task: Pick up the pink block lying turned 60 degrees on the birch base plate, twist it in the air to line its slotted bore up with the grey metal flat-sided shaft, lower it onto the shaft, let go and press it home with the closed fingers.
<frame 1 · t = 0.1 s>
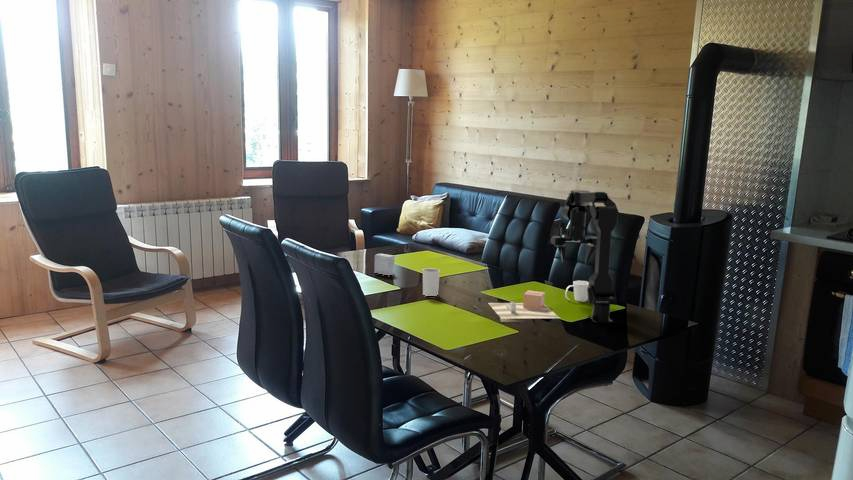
hand: (574, 262, 262), 15 cm above the table, fingers open, 9 cm apart
medicine box: (384, 275, 296), on the table
cup: (576, 303, 259), on the table
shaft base: (512, 315, 239), on the table
pink block: (533, 306, 247), point 1 cm above the table, touching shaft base
drinking glass: (430, 295, 263), on the table
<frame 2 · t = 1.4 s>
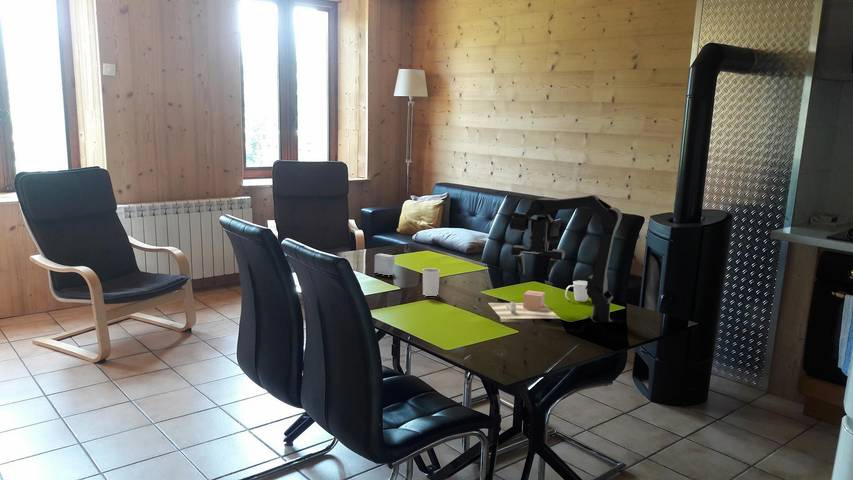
hand: (535, 275, 246), 13 cm above the table, fingers open, 9 cm apart
nothing on the table moved.
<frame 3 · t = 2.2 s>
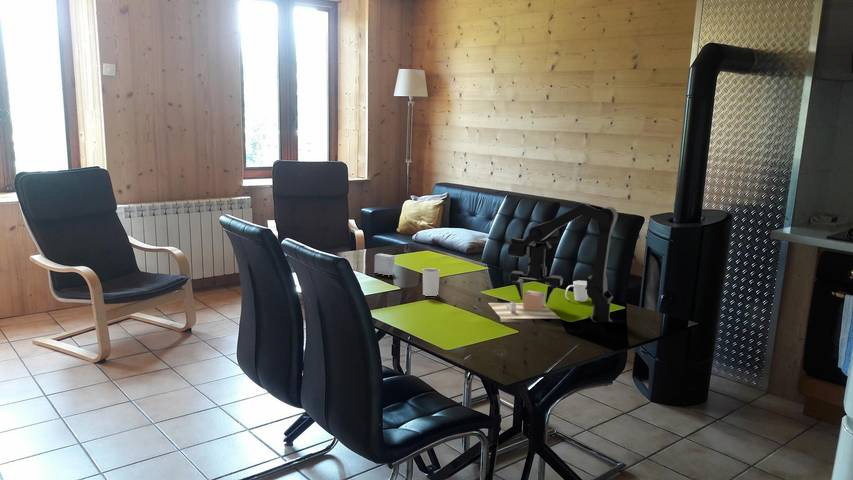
hand: (534, 301, 247), 3 cm above the table, fingers open, 9 cm apart
nothing on the table moved.
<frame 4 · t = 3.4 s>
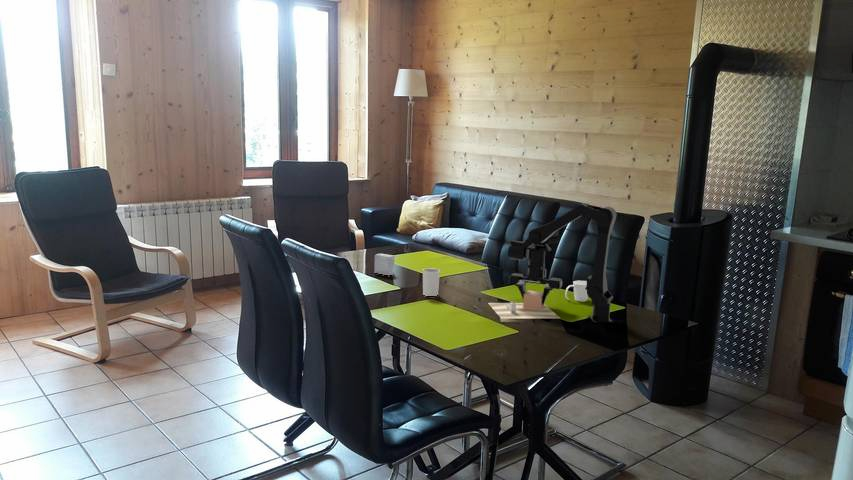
hand: (533, 303, 247), 2 cm above the table, fingers closed on pink block, 6 cm apart
pink block: (533, 306, 247), point 1 cm above the table, touching gripper, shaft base
everything else where it was.
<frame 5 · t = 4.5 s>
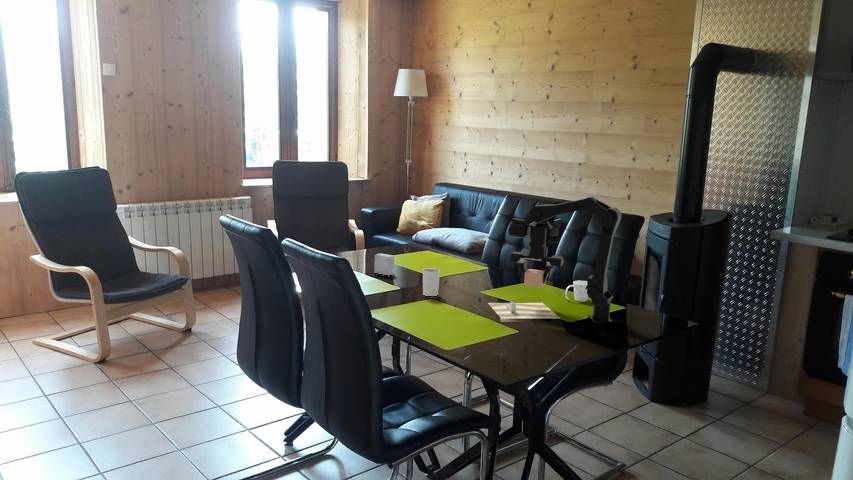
hand: (534, 282, 246), 10 cm above the table, fingers closed on pink block, 6 cm apart
pink block: (534, 284, 246), point 9 cm above the table, touching gripper
everything else where it was.
when the fingers open (2 cm above the table, at t = 7.8 s): pink block stays where it is, resting on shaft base.
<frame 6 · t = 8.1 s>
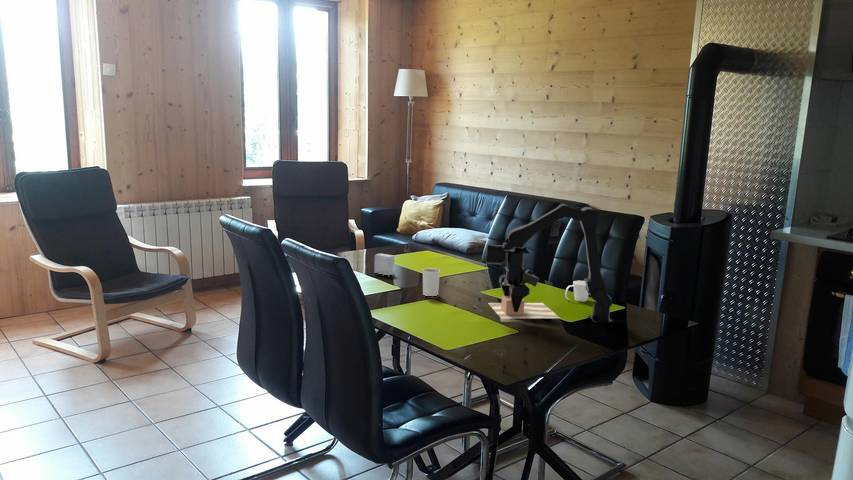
hand: (512, 308, 239), 2 cm above the table, fingers open, 9 cm apart
pink block: (512, 311, 239), point 1 cm above the table, touching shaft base
everything else where it was.
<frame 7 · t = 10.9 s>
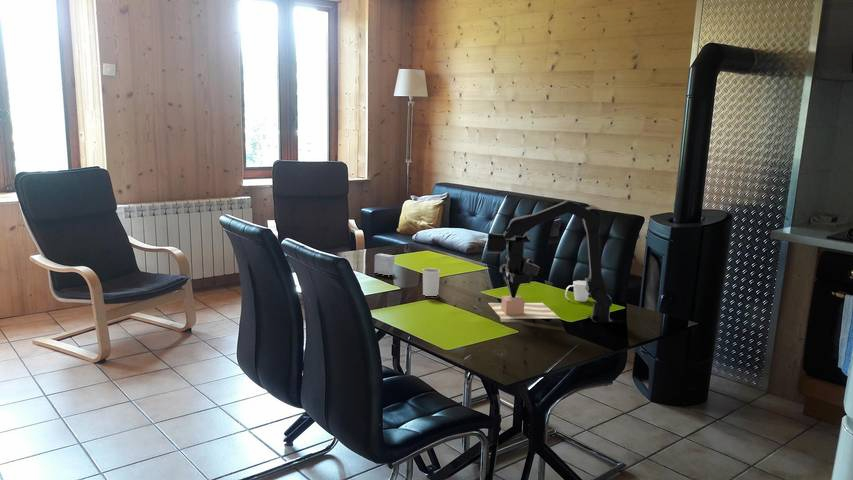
hand: (513, 297, 238), 6 cm above the table, fingers closed, pressing on pink block
pink block: (512, 311, 239), point 1 cm above the table, touching gripper, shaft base
everything else where it was.
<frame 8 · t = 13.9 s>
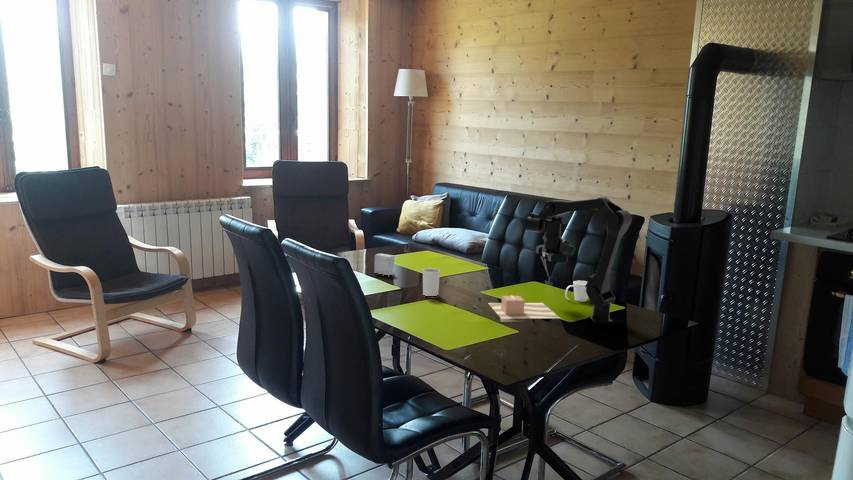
hand: (549, 276, 248), 12 cm above the table, fingers closed
pink block: (512, 311, 239), point 1 cm above the table, touching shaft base
everything else where it was.
at the end: pink block 0.0 cm from the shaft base (horizontally); pink block point 1.2 cm above the table; pink block tilted 0° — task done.
